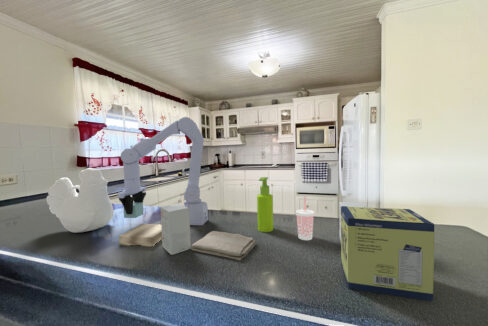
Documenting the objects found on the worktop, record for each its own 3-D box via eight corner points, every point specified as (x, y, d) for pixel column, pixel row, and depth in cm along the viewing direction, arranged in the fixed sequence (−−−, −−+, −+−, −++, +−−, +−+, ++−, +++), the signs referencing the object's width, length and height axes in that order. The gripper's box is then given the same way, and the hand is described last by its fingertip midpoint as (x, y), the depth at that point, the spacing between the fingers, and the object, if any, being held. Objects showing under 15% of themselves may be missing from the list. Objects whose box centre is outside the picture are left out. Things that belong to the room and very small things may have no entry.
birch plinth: (171, 232, 81) (170, 224, 80) (152, 246, 69) (152, 237, 69) (142, 231, 82) (141, 223, 82) (119, 245, 71) (118, 236, 70)
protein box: (339, 264, 56) (339, 205, 55) (410, 272, 51) (411, 208, 50) (346, 289, 46) (346, 217, 45) (435, 302, 41) (437, 223, 40)
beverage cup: (317, 237, 73) (317, 196, 73) (309, 242, 69) (309, 199, 68) (301, 232, 77) (300, 194, 77) (292, 238, 73) (292, 197, 72)
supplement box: (363, 240, 69) (364, 202, 69) (368, 251, 62) (369, 208, 62) (338, 238, 72) (338, 201, 71) (341, 248, 65) (341, 206, 64)
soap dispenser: (254, 232, 79) (253, 178, 78) (260, 225, 86) (259, 176, 84) (270, 234, 77) (269, 178, 76) (274, 227, 83) (274, 176, 82)
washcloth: (243, 263, 58) (242, 252, 58) (189, 252, 65) (188, 242, 65) (257, 245, 69) (257, 235, 69) (210, 237, 76) (209, 229, 76)
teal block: (143, 214, 89) (142, 202, 89) (135, 218, 84) (134, 205, 84) (132, 214, 90) (131, 202, 90) (124, 217, 85) (123, 205, 85)
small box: (191, 249, 66) (189, 207, 66) (171, 255, 62) (169, 211, 62) (180, 241, 73) (179, 203, 72) (161, 246, 69) (159, 206, 68)
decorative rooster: (123, 224, 92) (120, 166, 91) (88, 238, 77) (84, 169, 75) (79, 220, 98) (75, 166, 97) (38, 233, 83) (33, 169, 82)
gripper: (134, 176, 94) (136, 207, 95) (109, 181, 80) (111, 217, 80) (149, 176, 93) (151, 207, 94) (126, 181, 79) (128, 217, 79)
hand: (134, 212), depth 87 cm, fingers closed on teal block, 5 cm apart
